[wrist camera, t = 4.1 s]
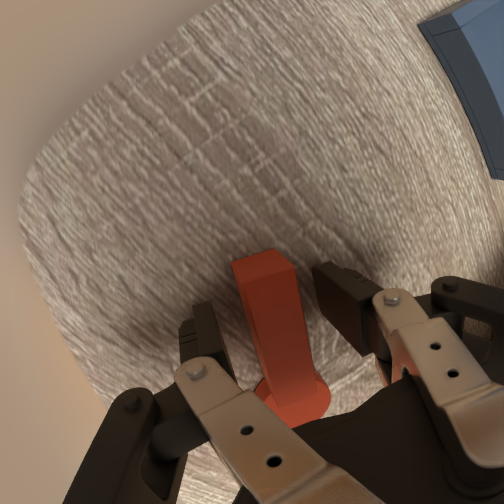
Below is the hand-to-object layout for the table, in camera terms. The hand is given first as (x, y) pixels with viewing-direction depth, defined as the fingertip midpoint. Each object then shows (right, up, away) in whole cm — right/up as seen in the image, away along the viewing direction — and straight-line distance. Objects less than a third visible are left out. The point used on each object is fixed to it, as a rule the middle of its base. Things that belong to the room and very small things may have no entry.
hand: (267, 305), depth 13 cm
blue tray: (+15, +14, 0) cm, 21 cm away
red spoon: (+1, -2, +1) cm, 3 cm away
